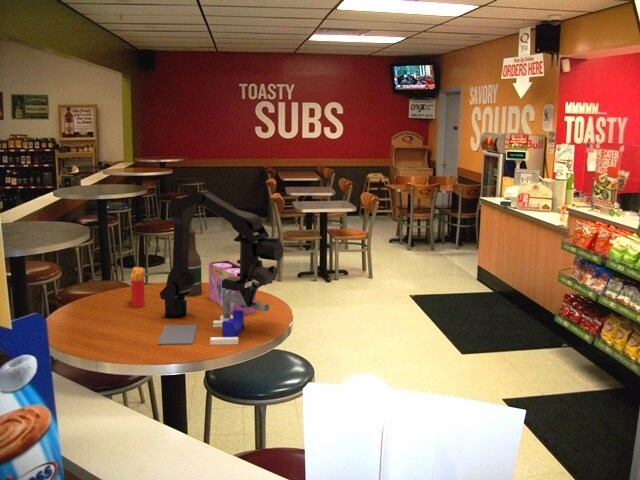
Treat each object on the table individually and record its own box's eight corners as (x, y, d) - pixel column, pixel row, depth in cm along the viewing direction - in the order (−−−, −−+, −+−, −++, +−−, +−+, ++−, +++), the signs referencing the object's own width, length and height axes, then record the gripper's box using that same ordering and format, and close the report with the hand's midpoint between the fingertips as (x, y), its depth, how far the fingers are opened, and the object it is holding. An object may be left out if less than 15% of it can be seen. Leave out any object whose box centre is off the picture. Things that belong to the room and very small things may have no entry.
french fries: (131, 301, 214) (130, 265, 211) (144, 300, 215) (142, 264, 213) (132, 309, 205) (131, 271, 203) (145, 308, 207) (144, 271, 204)
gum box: (258, 313, 204) (258, 274, 202) (237, 317, 200) (237, 277, 198) (228, 295, 224) (228, 259, 221) (208, 298, 220) (207, 262, 217)
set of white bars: (210, 344, 175) (210, 339, 175) (214, 318, 198) (214, 314, 198) (238, 344, 176) (238, 339, 176) (239, 318, 199) (239, 313, 199)
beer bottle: (177, 295, 222) (176, 231, 217) (185, 290, 229) (184, 227, 225) (197, 297, 221) (196, 232, 216) (205, 291, 228) (204, 228, 224)
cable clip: (229, 327, 190) (229, 309, 189) (243, 328, 189) (243, 310, 188) (217, 341, 179) (217, 321, 177) (232, 342, 178) (232, 322, 177)
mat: (157, 345, 174) (157, 343, 174) (164, 326, 189) (164, 325, 189) (192, 344, 175) (192, 343, 175) (197, 325, 191) (197, 324, 190)
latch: (263, 330, 185) (263, 302, 183) (221, 317, 196) (221, 290, 194) (269, 328, 187) (269, 300, 185) (227, 315, 198) (227, 289, 196)
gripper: (249, 265, 172) (248, 318, 174) (289, 256, 187) (288, 304, 189) (220, 260, 178) (220, 311, 180) (261, 251, 193) (260, 298, 196)
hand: (248, 306), depth 186 cm, fingers closed
